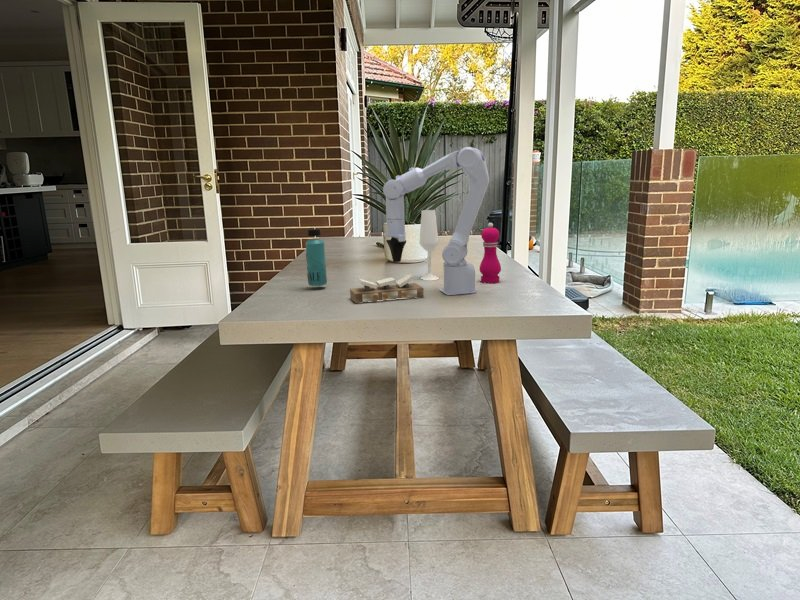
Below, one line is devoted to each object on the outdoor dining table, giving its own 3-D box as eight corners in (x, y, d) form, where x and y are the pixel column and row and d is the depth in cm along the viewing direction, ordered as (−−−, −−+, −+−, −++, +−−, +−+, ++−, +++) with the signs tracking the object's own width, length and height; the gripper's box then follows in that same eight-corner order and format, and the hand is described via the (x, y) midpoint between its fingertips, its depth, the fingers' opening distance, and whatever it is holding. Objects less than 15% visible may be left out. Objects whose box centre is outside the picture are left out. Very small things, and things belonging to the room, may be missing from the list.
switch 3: (409, 276, 171) (408, 273, 170) (414, 278, 167) (412, 276, 166) (396, 284, 170) (394, 282, 170) (400, 287, 166) (398, 284, 166)
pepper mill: (479, 279, 191) (479, 221, 187) (500, 279, 190) (501, 221, 186) (479, 283, 184) (479, 223, 180) (501, 283, 183) (502, 223, 179)
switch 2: (392, 280, 169) (391, 277, 169) (395, 282, 165) (395, 279, 165) (376, 284, 168) (376, 281, 168) (380, 286, 164) (379, 283, 164)
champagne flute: (433, 280, 192) (432, 211, 186) (416, 279, 195) (415, 211, 190) (442, 277, 197) (441, 209, 192) (425, 276, 201) (424, 209, 195)
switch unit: (415, 292, 174) (415, 279, 173) (424, 297, 166) (423, 284, 165) (350, 298, 169) (349, 284, 168) (355, 304, 161) (355, 290, 160)
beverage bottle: (325, 285, 189) (322, 227, 184) (329, 289, 183) (325, 229, 178) (306, 287, 187) (302, 228, 182) (309, 291, 181) (305, 230, 176)
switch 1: (372, 286, 168) (374, 282, 168) (376, 288, 164) (377, 285, 164) (357, 281, 167) (358, 278, 166) (360, 284, 162) (361, 280, 162)
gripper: (377, 217, 178) (379, 259, 182) (389, 221, 165) (390, 266, 168) (398, 216, 180) (399, 257, 183) (411, 220, 167) (412, 264, 170)
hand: (396, 261), depth 176 cm, fingers closed
